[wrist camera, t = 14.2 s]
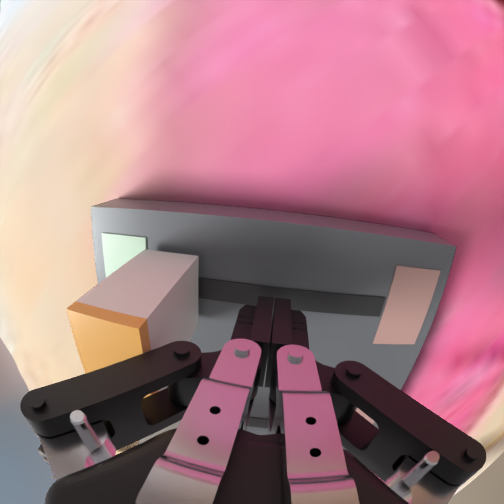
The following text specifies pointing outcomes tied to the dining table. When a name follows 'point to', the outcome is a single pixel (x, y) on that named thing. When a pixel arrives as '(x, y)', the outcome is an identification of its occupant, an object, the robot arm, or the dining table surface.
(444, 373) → the dining table surface
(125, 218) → the dual slider panel
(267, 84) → the dining table surface
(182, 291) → the block
